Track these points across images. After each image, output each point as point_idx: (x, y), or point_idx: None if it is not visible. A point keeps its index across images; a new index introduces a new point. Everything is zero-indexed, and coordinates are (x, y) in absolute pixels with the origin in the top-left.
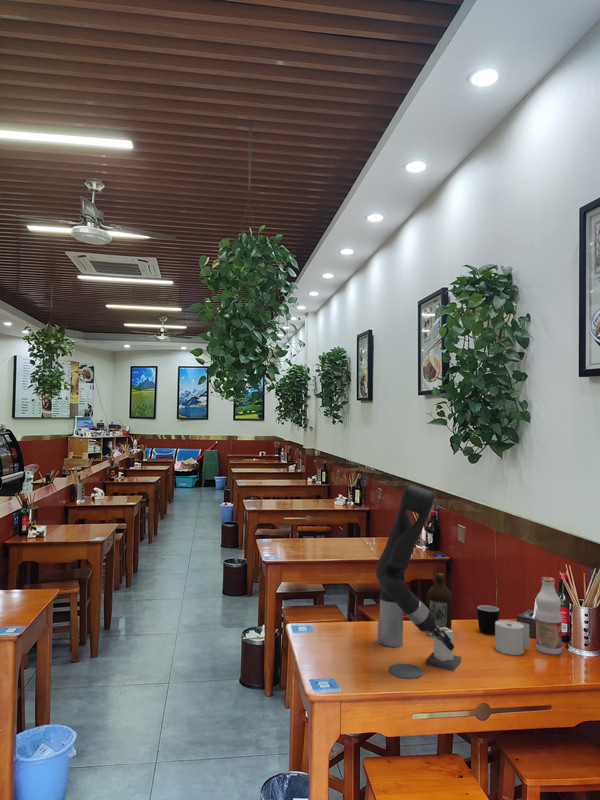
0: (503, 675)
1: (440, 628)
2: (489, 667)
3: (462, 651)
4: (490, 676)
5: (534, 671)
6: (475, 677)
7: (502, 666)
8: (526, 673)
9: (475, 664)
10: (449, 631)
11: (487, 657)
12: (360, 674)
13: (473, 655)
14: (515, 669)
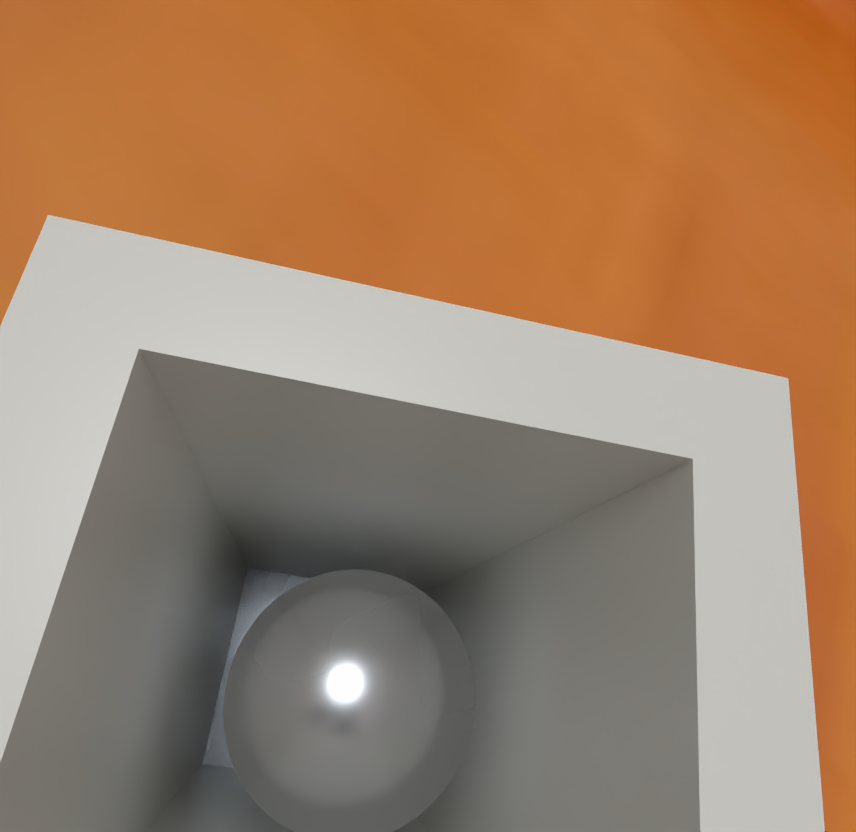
0: (845, 274)
1: (10, 727)
2: (640, 227)
3: (109, 96)
4: (846, 409)
5: (815, 2)
6: (844, 595)
7: (656, 108)
8: (839, 79)
9: (518, 287)
10: (730, 566)
11: (408, 34)
12: None
13: (287, 97)
14: (746, 78)
